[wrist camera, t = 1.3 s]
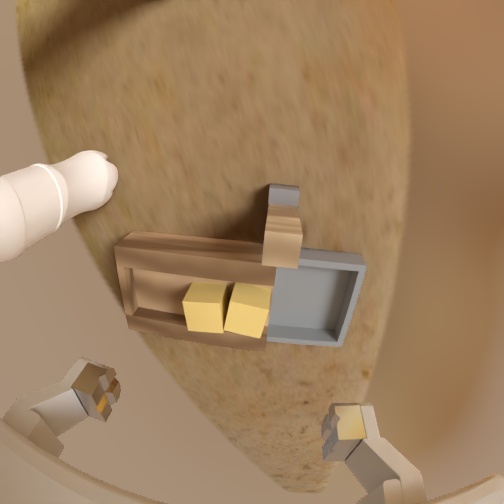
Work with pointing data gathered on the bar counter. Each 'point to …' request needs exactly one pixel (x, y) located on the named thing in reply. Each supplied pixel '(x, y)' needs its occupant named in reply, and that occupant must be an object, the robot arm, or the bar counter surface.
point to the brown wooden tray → (185, 281)
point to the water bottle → (50, 198)
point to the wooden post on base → (282, 227)
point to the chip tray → (315, 298)
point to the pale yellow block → (206, 307)
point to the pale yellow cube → (248, 309)
